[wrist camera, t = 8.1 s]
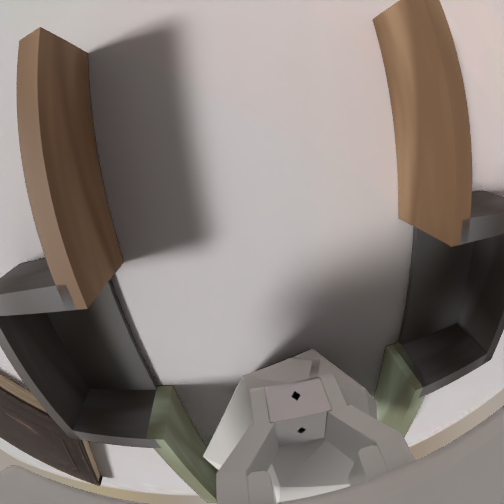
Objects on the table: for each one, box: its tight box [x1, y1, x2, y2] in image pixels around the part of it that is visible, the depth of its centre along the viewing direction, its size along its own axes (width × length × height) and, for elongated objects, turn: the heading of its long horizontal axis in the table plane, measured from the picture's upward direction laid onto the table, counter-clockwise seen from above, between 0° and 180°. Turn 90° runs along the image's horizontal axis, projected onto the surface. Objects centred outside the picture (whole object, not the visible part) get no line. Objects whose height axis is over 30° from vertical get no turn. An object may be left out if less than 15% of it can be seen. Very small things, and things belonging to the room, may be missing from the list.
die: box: [203, 349, 377, 503], centre depth 12 cm, size 8×9×10 cm
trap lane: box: [0, 0, 504, 503], centre depth 12 cm, size 27×30×4 cm
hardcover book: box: [0, 374, 103, 486], centre depth 16 cm, size 16×23×2 cm
